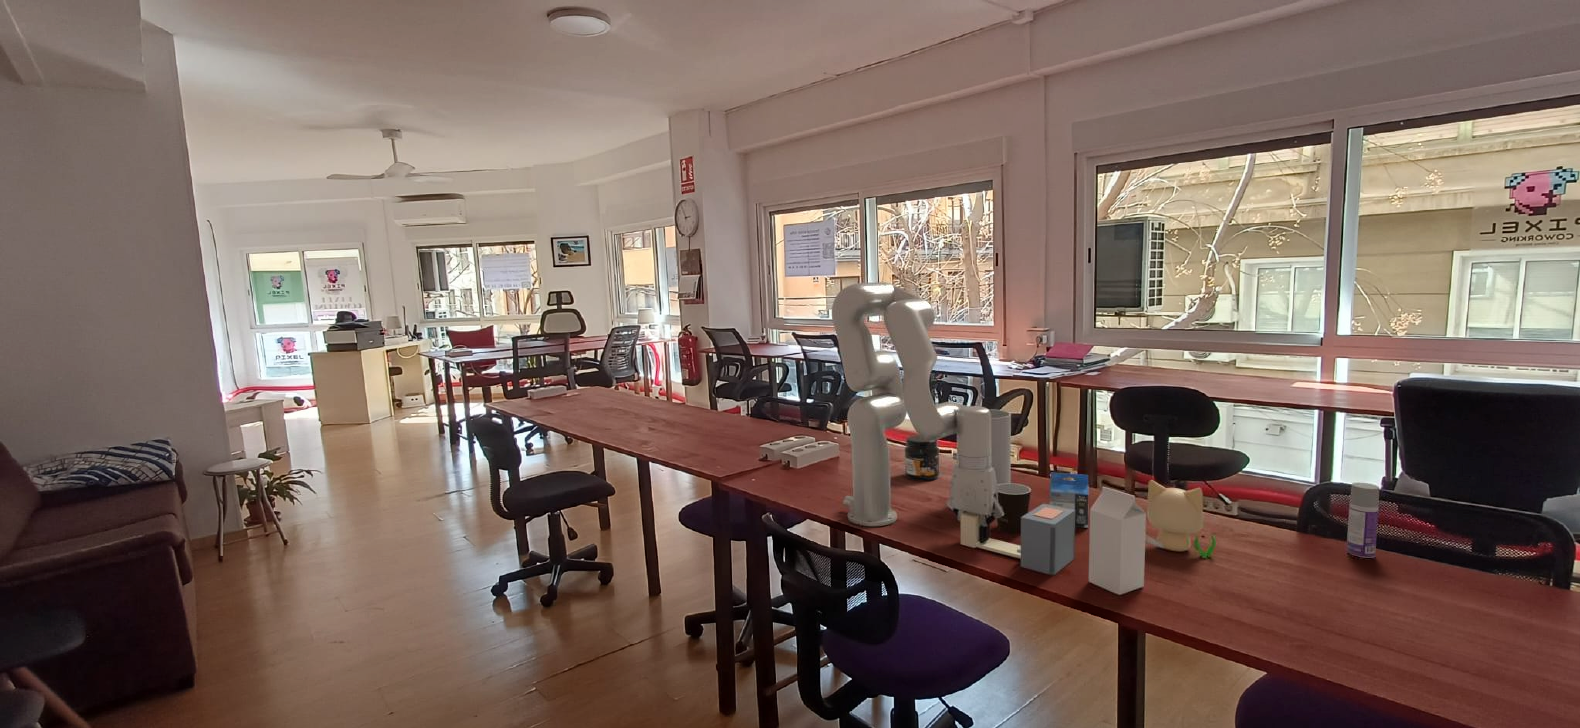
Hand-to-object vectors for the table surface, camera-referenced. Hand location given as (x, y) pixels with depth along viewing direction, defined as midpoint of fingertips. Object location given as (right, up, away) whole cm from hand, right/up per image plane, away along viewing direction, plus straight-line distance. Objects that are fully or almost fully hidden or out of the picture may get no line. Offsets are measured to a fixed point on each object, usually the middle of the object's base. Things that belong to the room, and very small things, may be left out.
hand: (974, 538), depth 160 cm
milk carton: (+22, -4, -23) cm, 32 cm away
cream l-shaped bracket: (+5, -1, -4) cm, 7 cm away
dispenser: (+12, -2, -12) cm, 17 cm away
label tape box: (+26, +1, +10) cm, 28 cm away
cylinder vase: (+10, +2, +25) cm, 27 cm away
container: (+78, 0, -13) cm, 79 cm away
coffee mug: (+11, 0, +10) cm, 15 cm away
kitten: (+42, -1, -7) cm, 43 cm away
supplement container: (-2, +5, +54) cm, 54 cm away
